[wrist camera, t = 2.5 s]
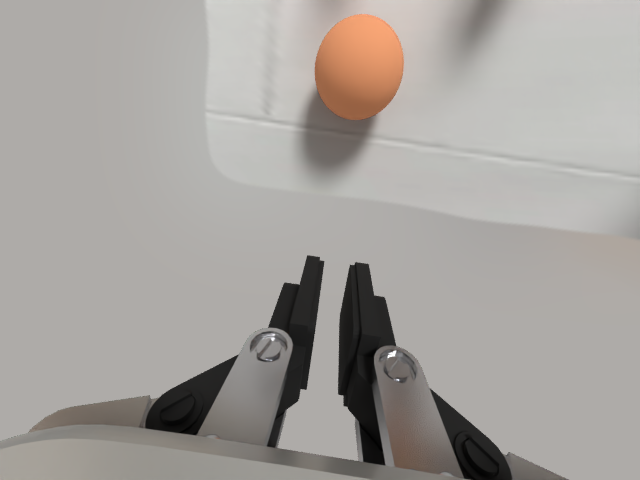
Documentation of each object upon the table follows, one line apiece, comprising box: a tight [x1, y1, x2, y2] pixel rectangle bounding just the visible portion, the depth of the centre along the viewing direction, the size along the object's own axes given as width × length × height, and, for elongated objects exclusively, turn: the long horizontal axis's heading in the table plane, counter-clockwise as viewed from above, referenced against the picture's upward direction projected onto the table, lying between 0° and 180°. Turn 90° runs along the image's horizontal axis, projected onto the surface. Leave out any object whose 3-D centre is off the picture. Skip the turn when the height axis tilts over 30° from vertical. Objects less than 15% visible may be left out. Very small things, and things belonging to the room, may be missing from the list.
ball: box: [315, 14, 404, 120], centre depth 18 cm, size 6×6×6 cm
